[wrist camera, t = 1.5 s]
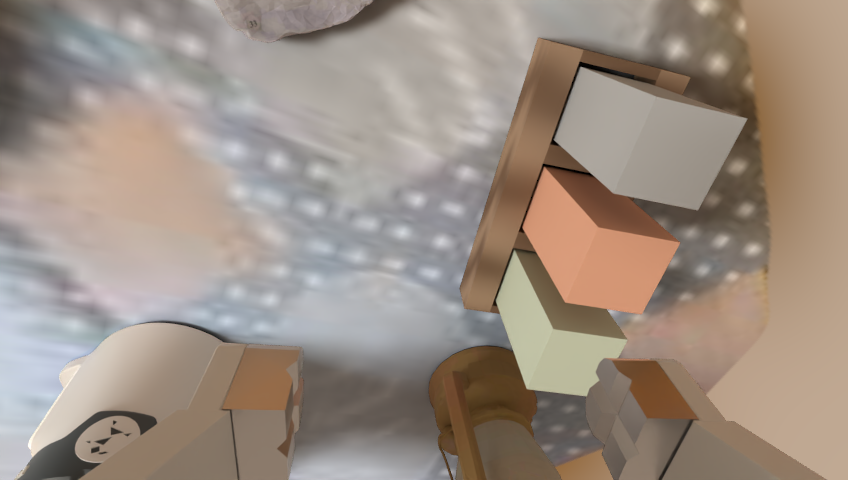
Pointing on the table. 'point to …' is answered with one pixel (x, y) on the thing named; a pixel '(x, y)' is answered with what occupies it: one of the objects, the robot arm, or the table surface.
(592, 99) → the slate block
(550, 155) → the walnut rack
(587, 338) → the sage block
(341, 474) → the table surface
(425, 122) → the table surface
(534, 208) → the terracotta block
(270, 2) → the stone block
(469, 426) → the lantern
